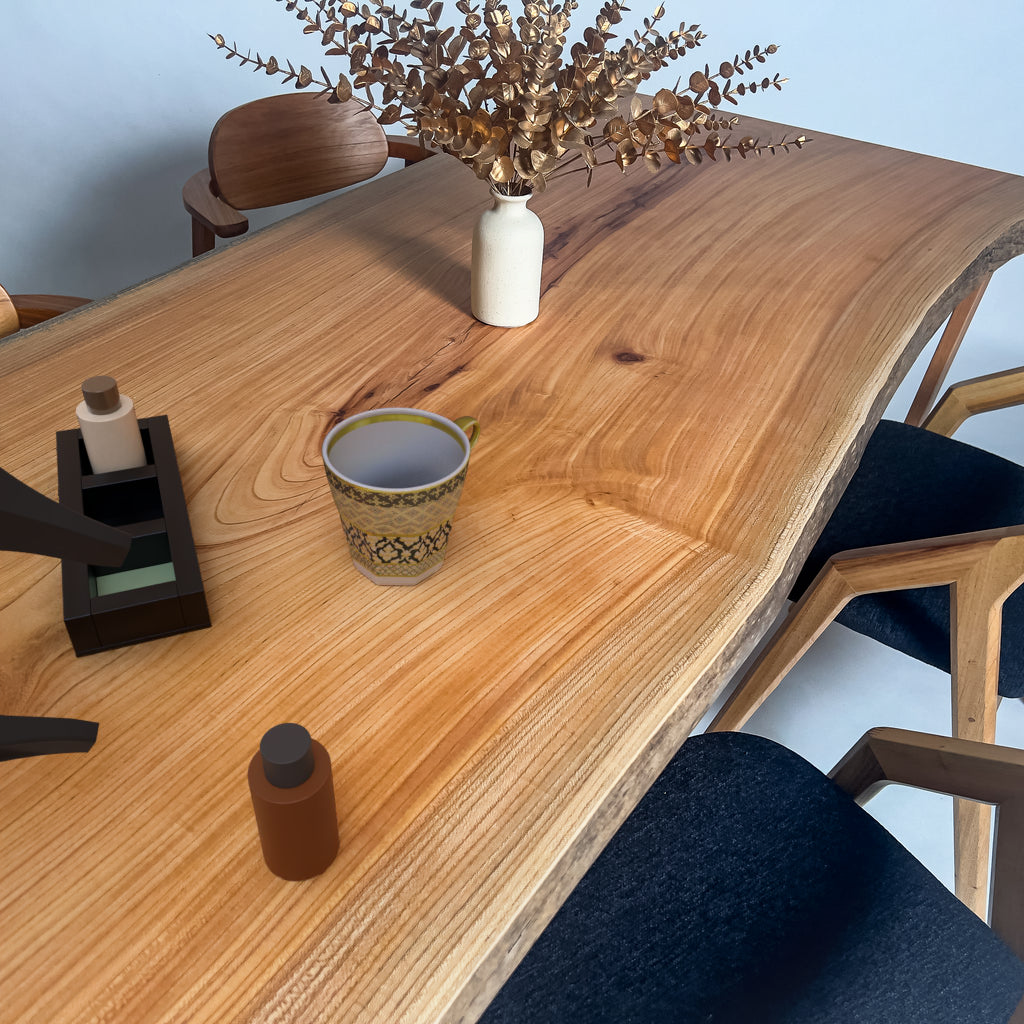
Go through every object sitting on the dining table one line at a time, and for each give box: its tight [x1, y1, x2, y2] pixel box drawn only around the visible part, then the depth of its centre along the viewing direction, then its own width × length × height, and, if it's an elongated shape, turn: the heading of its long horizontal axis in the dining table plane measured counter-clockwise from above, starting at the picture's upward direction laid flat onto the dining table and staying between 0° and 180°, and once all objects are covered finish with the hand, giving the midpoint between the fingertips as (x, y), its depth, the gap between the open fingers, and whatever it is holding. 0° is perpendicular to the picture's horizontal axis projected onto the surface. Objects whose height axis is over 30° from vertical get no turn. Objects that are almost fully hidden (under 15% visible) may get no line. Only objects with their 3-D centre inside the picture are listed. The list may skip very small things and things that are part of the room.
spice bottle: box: [246, 722, 340, 882], centre depth 46 cm, size 4×4×9 cm
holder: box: [55, 414, 213, 658], centre depth 66 cm, size 8×22×3 cm, turn 22°
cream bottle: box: [75, 375, 148, 475], centre depth 69 cm, size 4×4×9 cm
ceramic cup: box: [321, 406, 481, 587], centre depth 65 cm, size 13×10×10 cm
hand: (111, 639), depth 35 cm, fingers open, 7 cm apart
